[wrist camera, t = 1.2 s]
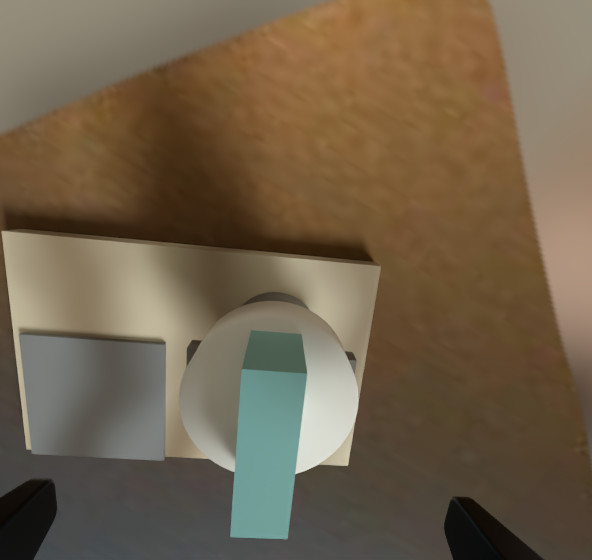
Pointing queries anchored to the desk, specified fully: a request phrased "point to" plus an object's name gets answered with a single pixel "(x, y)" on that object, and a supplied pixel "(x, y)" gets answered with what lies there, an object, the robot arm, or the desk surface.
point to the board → (149, 331)
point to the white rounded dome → (268, 406)
